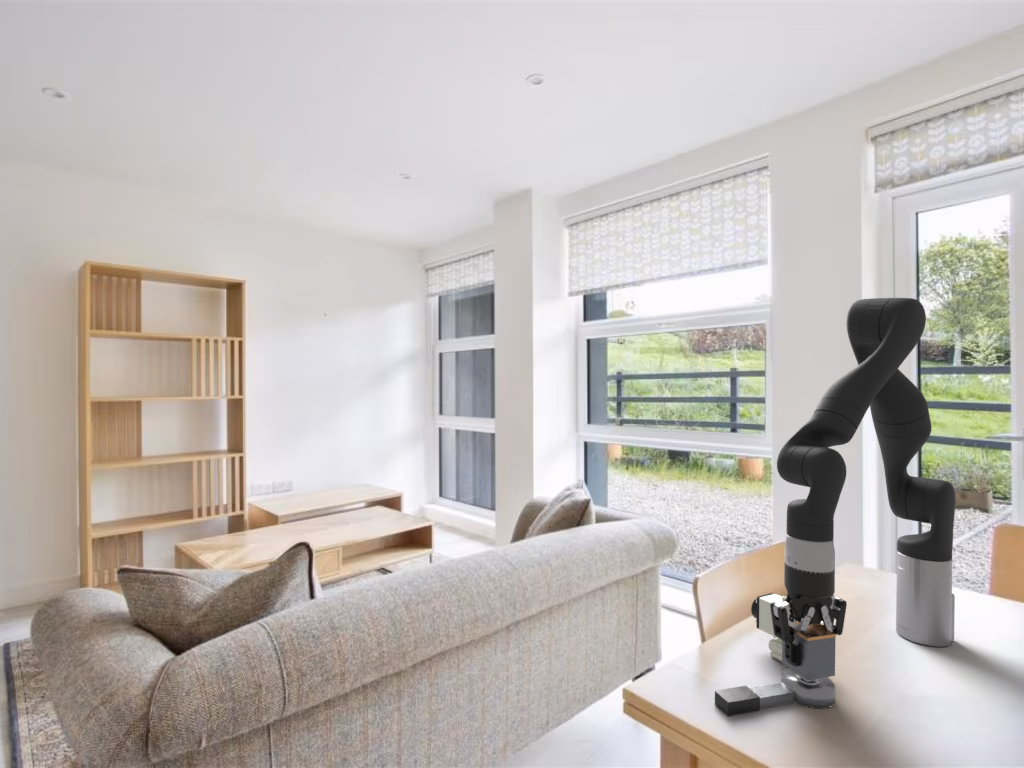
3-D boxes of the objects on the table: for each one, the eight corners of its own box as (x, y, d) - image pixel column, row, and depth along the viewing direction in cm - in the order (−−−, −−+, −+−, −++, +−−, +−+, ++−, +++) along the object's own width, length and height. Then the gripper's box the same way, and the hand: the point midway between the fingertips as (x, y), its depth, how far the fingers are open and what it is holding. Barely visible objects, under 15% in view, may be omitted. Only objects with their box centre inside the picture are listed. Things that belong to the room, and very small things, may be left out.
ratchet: (808, 678, 97) (808, 645, 97) (846, 704, 90) (846, 668, 90) (706, 696, 92) (706, 660, 92) (737, 725, 84) (738, 686, 84)
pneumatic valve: (804, 677, 98) (805, 611, 98) (750, 648, 108) (750, 588, 108) (824, 669, 100) (824, 605, 100) (768, 642, 111) (769, 583, 111)
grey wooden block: (835, 675, 90) (836, 634, 90) (807, 680, 89) (807, 637, 89) (808, 658, 96) (808, 619, 96) (781, 663, 94) (782, 622, 94)
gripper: (791, 574, 87) (789, 679, 87) (862, 566, 90) (861, 667, 91) (758, 559, 94) (756, 656, 94) (825, 552, 98) (824, 646, 98)
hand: (808, 661), depth 92 cm, fingers closed on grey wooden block, 5 cm apart
